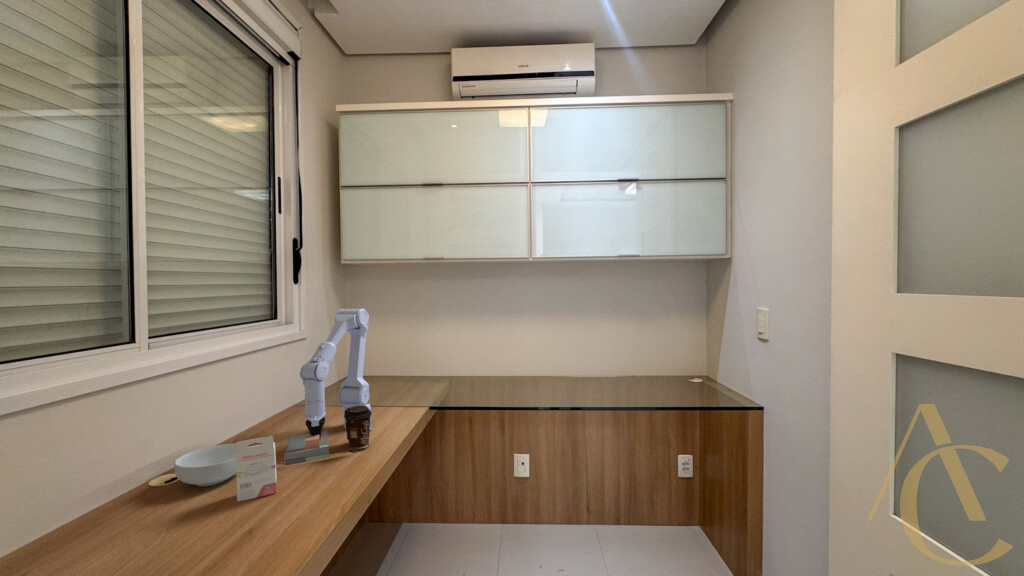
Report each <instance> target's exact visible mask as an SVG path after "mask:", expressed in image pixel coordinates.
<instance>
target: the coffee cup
mask: <svg viewBox="0 0 1024 576" xmlns="http://www.w3.org/2000/svg"><path fill="white" fill-rule="evenodd" d="M344 412H345V415H344V414H343V419H344V418H345V420H346V424H345V426H346V429H345V431H346V440H348V442H349V448H353V449H350V450H348V451H349V452H350V453H361V452H364V451H367V450H368V449H369V448H370V431H371V430H370V416H371V417H372V410H371V411H370V410H369V408H368V407H367V406H353V407H350V408H347V410H345V411H344V410H343V413H344Z"/></svg>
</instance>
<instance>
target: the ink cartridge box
mask: <svg viewBox="0 0 1024 576" xmlns="http://www.w3.org/2000/svg"><path fill="white" fill-rule="evenodd" d="M254 443H256V444H257V445H252V444H254ZM235 444H236V455H235V462H236V474H235V478H236V479H235V481H236V483H235V484H236V485H235V486H236V502H238V503H240V502H244V501H248V500H252V499H256V498H262V497H266V496H269V495H275V494H276V493H277V488H278V487H277V485H278V482H277V481H278V479H277V460H276V459H277V457H276V455H277V454H276V442H274V436H273V435H270V436H264V437H257V438H251V439H246V440H245V439H244V440H240V441H237V442H236V443H235ZM249 445H252V446H249Z"/></svg>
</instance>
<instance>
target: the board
mask: <svg viewBox="0 0 1024 576" xmlns="http://www.w3.org/2000/svg"><path fill="white" fill-rule="evenodd" d="M306 436H310V432H308V433H302V434H296V435H290V436H288V442H287V446H286V452H285V453H284V454H283V457H284V459H283V460H284V462H283V463H284V466H290V465H295V464H301V463H308V462H312V461H318V460H324V459H329V458H330V454H329V453H330V446H329V430H323V431H322V432H321V437H323V436H325V439H320V448H314V449H308V450H305V437H306Z"/></svg>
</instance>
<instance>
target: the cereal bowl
mask: <svg viewBox="0 0 1024 576" xmlns="http://www.w3.org/2000/svg"><path fill="white" fill-rule="evenodd" d="M235 455H236V443H226V444H217V445H211V446H207V447H202V448H199V449H195V450H192V451H190V452H189V451H188V452H187V453H185V454H182V455H181V456H179V457H178V458H177V459H176V460H175V461H174V473H175V477H176V478H177V479H178V480H179V481H180V482H182V483H184V484H189V485H196V486H197V487H209V486H214V485H217V484H220V483H223V482H226V481H227V480H229V479H230V478H231V477H233V476H236V462H235Z"/></svg>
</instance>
